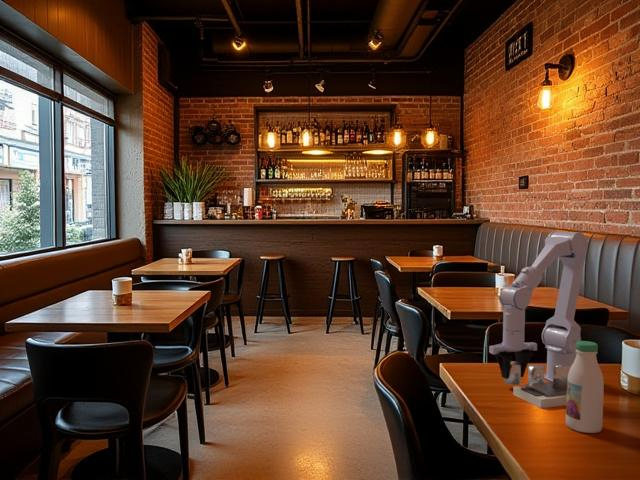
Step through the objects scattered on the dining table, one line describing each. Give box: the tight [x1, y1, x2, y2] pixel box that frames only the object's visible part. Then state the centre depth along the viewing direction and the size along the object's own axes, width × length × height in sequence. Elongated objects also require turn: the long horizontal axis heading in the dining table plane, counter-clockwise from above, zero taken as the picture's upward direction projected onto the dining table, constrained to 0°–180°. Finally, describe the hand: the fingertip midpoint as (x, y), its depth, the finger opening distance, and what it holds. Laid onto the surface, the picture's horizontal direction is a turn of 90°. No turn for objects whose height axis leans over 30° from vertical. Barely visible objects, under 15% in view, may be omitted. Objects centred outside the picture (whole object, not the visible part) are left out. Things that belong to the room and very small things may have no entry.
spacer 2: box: [527, 364, 546, 384], centre depth 163 cm, size 4×4×6 cm
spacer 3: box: [553, 364, 571, 389], centre depth 153 cm, size 4×4×6 cm
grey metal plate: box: [525, 381, 567, 396], centre depth 152 cm, size 11×8×1 cm
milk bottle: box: [565, 340, 605, 434], centre depth 132 cm, size 8×8×20 cm
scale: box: [512, 385, 567, 409], centre depth 152 cm, size 14×11×2 cm
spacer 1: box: [503, 360, 522, 386], centre depth 160 cm, size 4×4×6 cm
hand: (512, 377), depth 160 cm, fingers closed on spacer 1, 4 cm apart
